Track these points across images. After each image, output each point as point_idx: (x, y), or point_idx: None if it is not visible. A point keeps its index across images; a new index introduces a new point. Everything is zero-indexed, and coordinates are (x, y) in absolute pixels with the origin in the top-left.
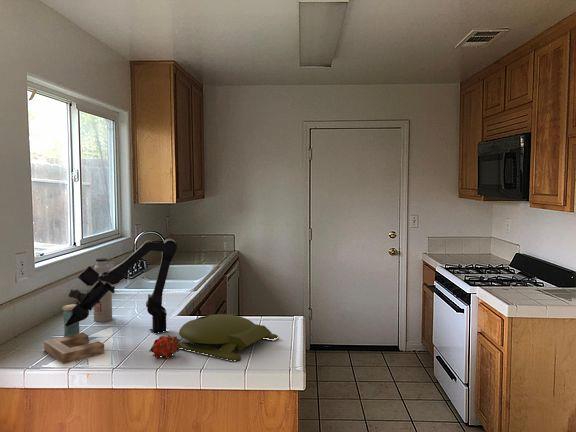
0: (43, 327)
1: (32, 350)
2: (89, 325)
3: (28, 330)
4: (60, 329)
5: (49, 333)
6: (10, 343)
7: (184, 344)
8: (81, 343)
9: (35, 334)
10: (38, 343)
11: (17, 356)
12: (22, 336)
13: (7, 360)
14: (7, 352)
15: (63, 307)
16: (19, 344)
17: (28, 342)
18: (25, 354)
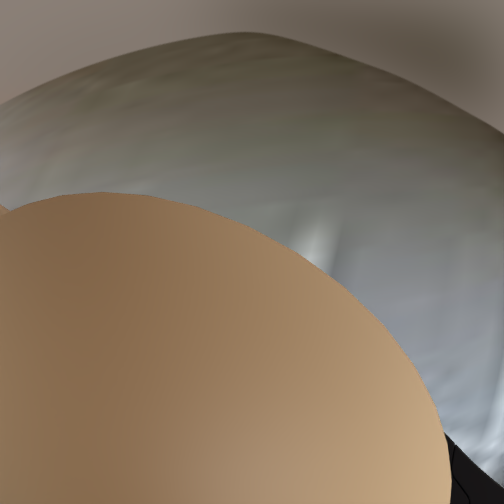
0: (490, 163)
1: (54, 160)
2: (491, 438)
3: (442, 100)
4: (461, 261)
5: (387, 199)
6: (230, 46)
7: None
8: None
9: (375, 124)
10: (167, 160)
11: (18, 125)
12: (345, 74)
13: (2, 109)
14: (91, 71)
15: (7, 252)
16: (193, 77)
17: (214, 107)
18: (20, 147)
